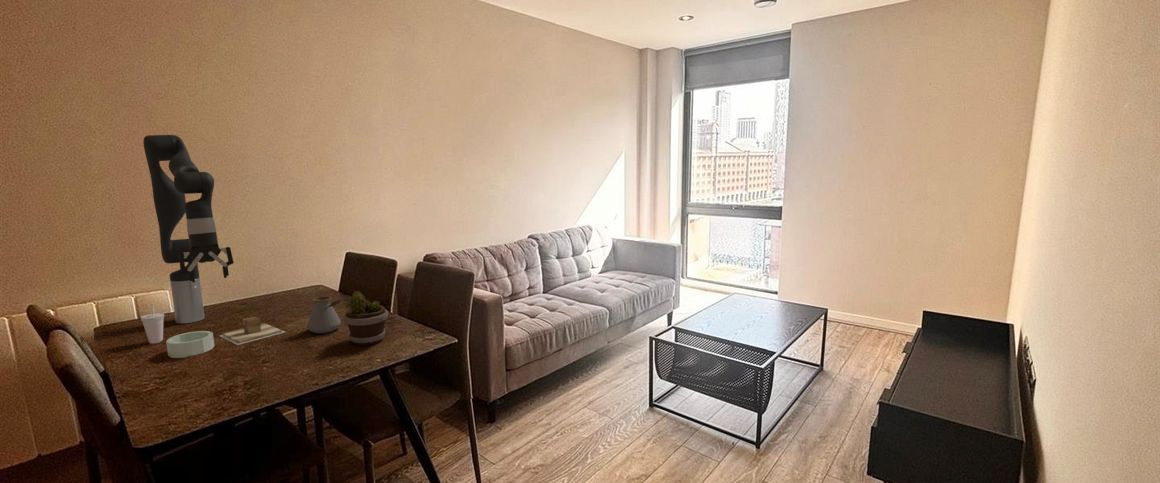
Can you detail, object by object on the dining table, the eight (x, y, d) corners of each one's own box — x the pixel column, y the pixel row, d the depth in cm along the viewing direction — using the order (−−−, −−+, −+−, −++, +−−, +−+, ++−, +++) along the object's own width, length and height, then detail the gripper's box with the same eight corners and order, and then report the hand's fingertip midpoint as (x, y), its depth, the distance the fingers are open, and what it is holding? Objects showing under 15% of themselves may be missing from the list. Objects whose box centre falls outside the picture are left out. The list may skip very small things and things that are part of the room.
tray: (219, 336, 180) (219, 335, 180) (266, 325, 193) (266, 324, 193) (238, 345, 171) (237, 344, 171) (286, 333, 184) (286, 332, 184)
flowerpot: (371, 331, 187) (368, 280, 184) (398, 338, 179) (395, 285, 176) (336, 343, 174) (331, 288, 171) (363, 351, 167) (359, 294, 164)
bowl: (163, 352, 165) (161, 338, 164) (205, 342, 175) (204, 328, 174) (176, 360, 158) (174, 346, 158) (219, 349, 168) (217, 335, 167)
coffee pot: (302, 331, 186) (299, 293, 184) (333, 324, 195) (330, 287, 192) (326, 345, 172) (322, 304, 170) (358, 336, 181) (355, 297, 179)
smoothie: (154, 345, 171) (148, 307, 169) (139, 344, 173) (133, 306, 170) (172, 339, 178) (167, 302, 175) (158, 337, 179) (152, 300, 177)
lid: (223, 335, 181) (221, 320, 180) (264, 325, 192) (263, 310, 191) (239, 343, 173) (238, 327, 172) (282, 332, 184) (280, 317, 183)
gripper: (227, 229, 170) (234, 275, 172) (174, 234, 161) (182, 283, 163) (229, 229, 165) (236, 277, 166) (174, 234, 156) (182, 284, 157)
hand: (209, 280), depth 164 cm, fingers open, 8 cm apart
